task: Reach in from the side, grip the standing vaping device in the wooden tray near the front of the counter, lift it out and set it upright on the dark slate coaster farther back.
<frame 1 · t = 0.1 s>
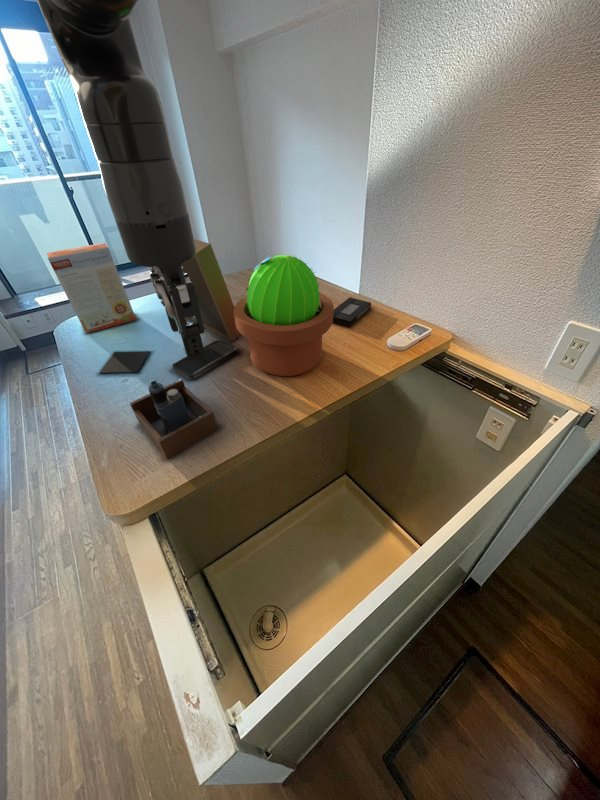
hand: (187, 342, 45), 22 cm above the table, tool pointing down, fingers open, 8 cm apart
potted cactus: (286, 357, 82), on the table
cracker box: (110, 323, 97), on the table
phone: (206, 360, 81), on the table
vhs tape: (349, 315, 99), on the table
vaping device: (178, 427, 64), resting in wooden tray
photo frame: (198, 333, 92), on the table
coaster: (126, 362, 81), on the table
wooden tray: (178, 427, 64), on the table
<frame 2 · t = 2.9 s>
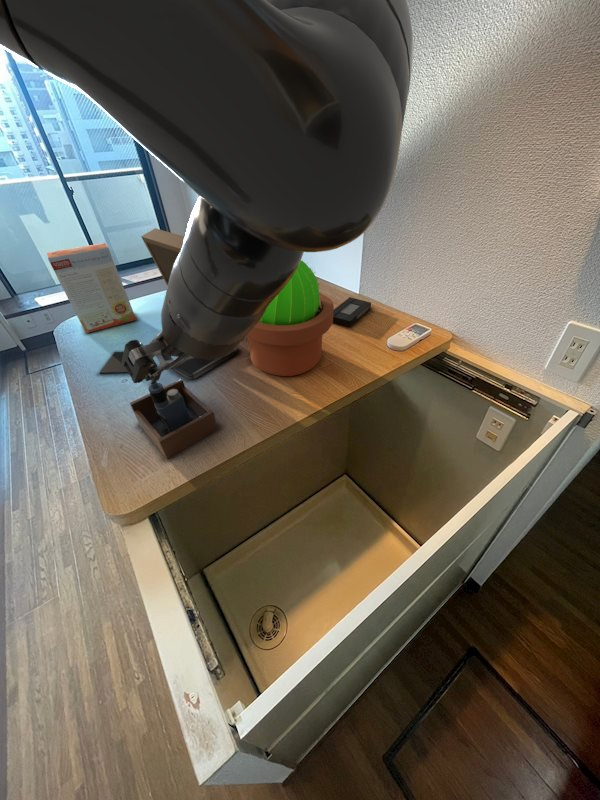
hand: (182, 360, 41), 23 cm above the table, tool tilted 45°, fingers open, 8 cm apart
nothing on the table moved.
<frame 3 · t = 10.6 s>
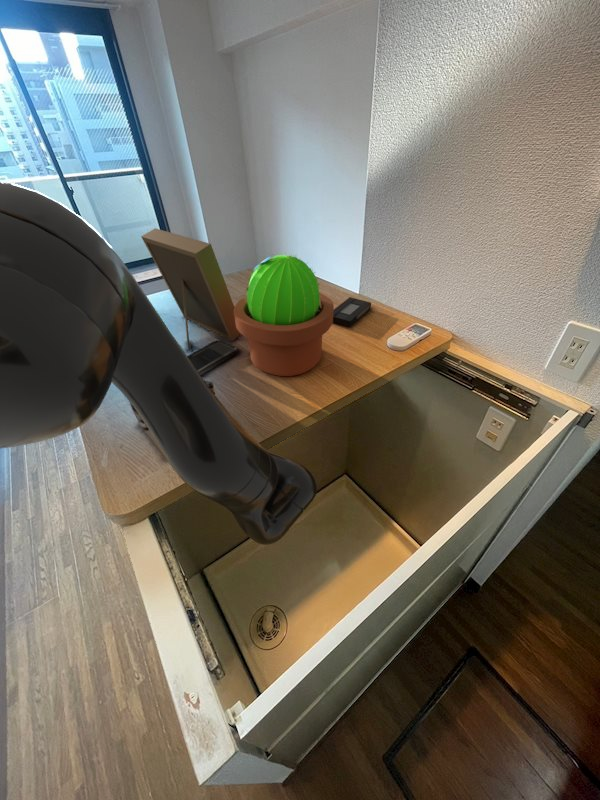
hand: (154, 380, 59), 10 cm above the table, tool horizontal, fingers closed on vaping device, 2 cm apart
vaping device: (178, 426, 64), resting in wooden tray, touching gripper
everything else where it was.
when the fingers open (10 cm above the table, at t = 20.7 s): vaping device stays where it is, resting on coaster.
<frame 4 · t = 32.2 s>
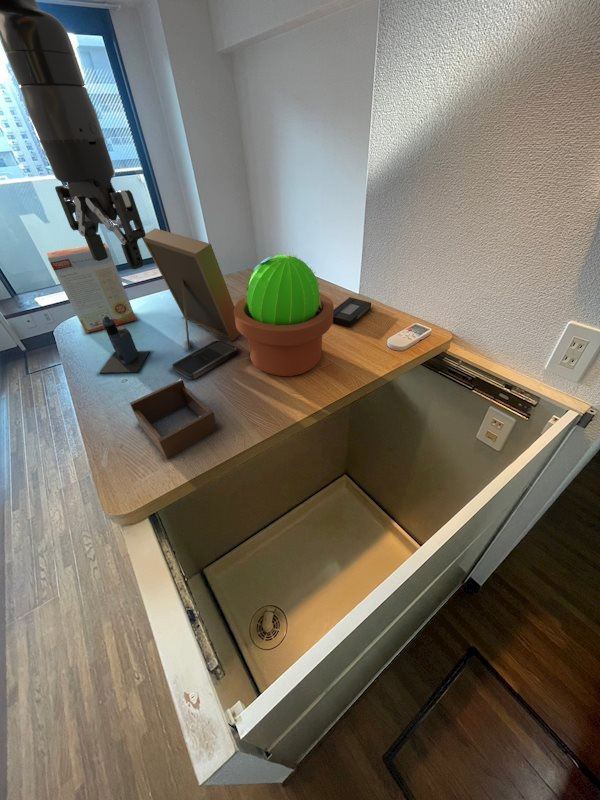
hand: (118, 263, 53), 28 cm above the table, tool pointing down, fingers open, 8 cm apart
vaping device: (130, 360, 82), resting on coaster
everything else where it was.
at the end: vaping device inside the target area on the coaster (1.2 cm from its centre), point 0.2 cm above the coaster's base; vaping device tilted 0°; the gripper is holding nothing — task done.
